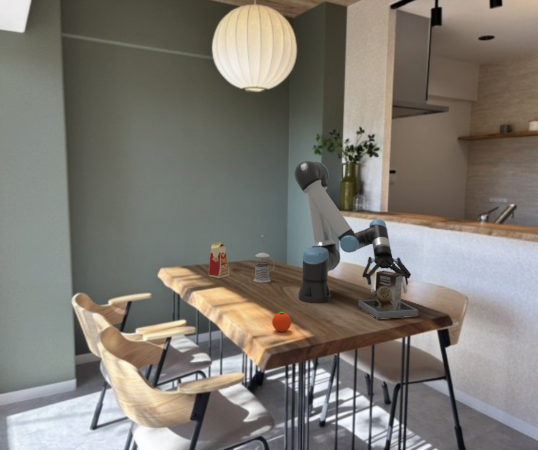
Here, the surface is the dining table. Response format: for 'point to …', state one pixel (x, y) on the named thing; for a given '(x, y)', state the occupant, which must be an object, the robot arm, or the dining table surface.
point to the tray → (370, 308)
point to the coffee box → (388, 291)
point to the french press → (260, 266)
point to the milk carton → (218, 261)
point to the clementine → (281, 322)
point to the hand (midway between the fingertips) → (389, 291)
